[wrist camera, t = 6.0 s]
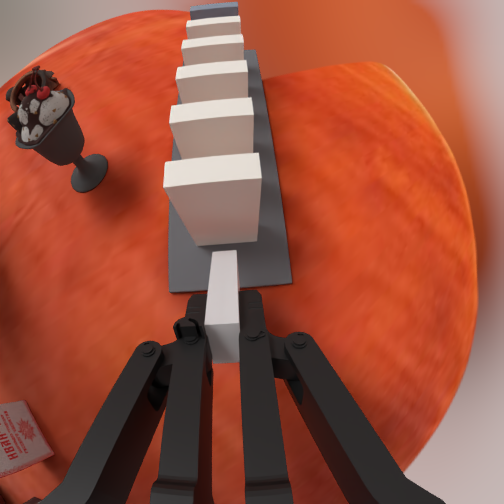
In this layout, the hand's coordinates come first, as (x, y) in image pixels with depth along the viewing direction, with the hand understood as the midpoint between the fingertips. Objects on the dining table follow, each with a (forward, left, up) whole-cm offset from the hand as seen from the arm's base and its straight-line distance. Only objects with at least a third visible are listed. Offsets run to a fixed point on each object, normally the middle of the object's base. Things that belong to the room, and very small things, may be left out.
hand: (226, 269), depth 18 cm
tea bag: (-24, -16, -5) cm, 29 cm away
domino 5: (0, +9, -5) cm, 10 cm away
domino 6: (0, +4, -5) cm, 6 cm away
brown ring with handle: (-31, +31, -5) cm, 44 cm away
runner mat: (0, +16, -5) cm, 16 cm away
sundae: (-15, +13, -5) cm, 21 cm away
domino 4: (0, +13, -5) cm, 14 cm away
